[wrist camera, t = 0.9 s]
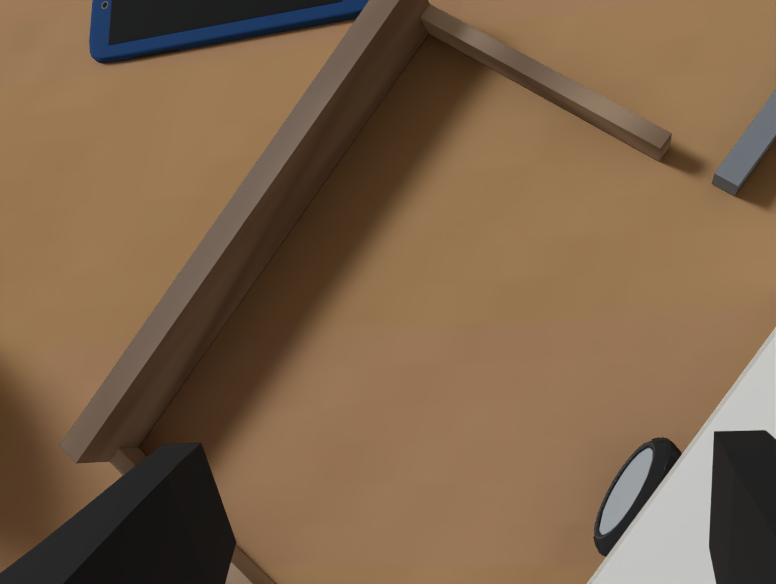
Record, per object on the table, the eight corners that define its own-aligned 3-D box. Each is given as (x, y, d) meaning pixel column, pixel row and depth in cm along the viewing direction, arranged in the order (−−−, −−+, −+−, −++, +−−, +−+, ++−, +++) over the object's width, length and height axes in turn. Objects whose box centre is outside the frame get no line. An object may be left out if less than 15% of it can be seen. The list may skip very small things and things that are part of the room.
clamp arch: (903, 316, 22) (1035, 261, 15) (584, 745, 22) (562, 891, 15) (806, 261, 23) (885, 185, 16) (504, 672, 23) (448, 777, 16)
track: (979, 314, 21) (1032, 297, 18) (552, 885, 22) (540, 951, 19) (417, 10, 29) (394, -36, 26) (113, 444, 29) (59, 445, 27)
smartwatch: (676, 418, 23) (687, 415, 19) (795, 563, 22) (841, 601, 17) (570, 494, 24) (554, 509, 19) (678, 641, 22) (690, 697, 17)
